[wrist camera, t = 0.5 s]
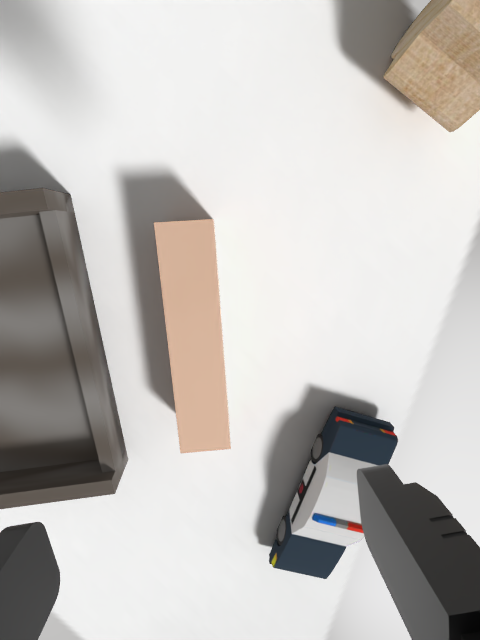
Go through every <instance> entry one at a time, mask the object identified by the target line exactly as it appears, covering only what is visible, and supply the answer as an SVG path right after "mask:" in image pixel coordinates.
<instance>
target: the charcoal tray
mask: <svg viewBox="0 0 480 640" xmlns="http://www.w3.org/2000/svg"><path fill="white" fill-rule="evenodd" d="M127 461H128V457H127V452H126V448H125V443H124V439H123V434H122V429H121V425H120V420H119V416H118V411H117V406H116V402H115V397H114V393H113V388H112V383H111V379H110V374H109V370H108V365H107V360H106V356H105V351H104V347H103V342H102V337H101V333H100V328H99V324H98V319H97V314H96V310H95V305H94V301H93V296H92V291H91V287H90V282H89V278H88V273H87V268H86V264H85V259H84V254H83V250H82V245H81V241H80V236H79V231H78V227H77V222H76V218H75V213H74V208H73V204H72V199H71V195H70V194H66V193H62V192H58V191H54V190H49V189H45V188H37V189H28V190H19V191H9V192H0V509H5V508H12V507H20V506H27V505H35V504H42V503H50V502H57V501H65V500H72V499H80V498H87V497H95V496H102V495H109V494H115V492H116V489H117V487H118V484H119V482H120V479H121V477H122V474H123V471H124V469H125V466H126V464H127Z"/></svg>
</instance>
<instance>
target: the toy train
mask: <svg viewBox="0 0 480 640" xmlns="http://www.w3.org/2000/svg"><path fill="white" fill-rule="evenodd" d="M391 58H392V59H394V60H393V61H392V63H391V65H390V66H389V68H388V69H387V71H386V73H385V74H384V77H383V78H384V79H385V80H387V81H388V82H389V83H390V84H392V85H393V86H394V87H395V88H396V89H398V90H399V91H400V92H401V93H403V94H404V95H405V96H406V97H407V98H409V99H410V100H411V101H412V102H413V103H415V104H416V105H417V106H418V107H420V108H421V109H422V110H423V111H424V112H426V113H427V114H428V115H429V116H431V117H432V118H433V119H434V120H435V121H437V122H438V123H439V124H440V125H441V126H443V127H444V128H445V129H446V130H448V131H449V132H452V131H454V130H456V129H458V128H459V127H461V126H462V125H463V124H464V123H465V122H466V121H467V120H468V119H470V118H471V117H472V116H473V115H474V114H475V113H476V112H478V111H479V110H480V0H431V1H430V2H429V3H428V5H427V6H426V7H425V8H424V9H423V10H422V11H421V13H420V14H419V15H418V17H417V18H416V19H415V20H414V22H413V23H412V24H411V25H410V27H409V28H408V30H407V31H406V33H405V34H404V35H403V37H402V38H401V40H400V41H399V43H398V44H397V46H396V47H395V49H394V51H393V53H392V54H391Z"/></svg>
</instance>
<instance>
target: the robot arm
mask: <svg viewBox="0 0 480 640" xmlns="http://www.w3.org/2000/svg"><path fill="white" fill-rule="evenodd" d="M357 485H358V496H359V506H360V517H361V524H362V529H363V533H364V536H365V539H366V542H367V545H368V547H369V549H370V552H371V554H372V556H373V558H374V560H375V562H376V564H377V566H378V569H379V571H380V573H381V575H382V577H383V579H384V581H385V583H386V586H387V588H388V590H389V592H390V594H391V596H392V598H393V600H394V602H395V605H396V607H397V609H398V611H399V613H400V615H401V617H402V619H403V621H404V624H405V626H406V628H407V630H408V632H409V634H410V636H411V638H412V640H480V547H479V546H478V545H477V544H476V542H475V541H474V540H473V539H472V538H471V536H470V535H467V533H466V531H465V529H464V528H463V527H462V526H461V524H460V523H459V522H458V521H457V520H456V518H453V516H452V514H451V513H450V511H449V510H448V509H447V508H446V507H445V505H444V504H443V503H442V502H441V500H440V499H439V498H438V497H437V496H436V495H434V494H433V493H431V492H430V491H428V490H427V489H425V488H424V487H422V486H420V485H419V484H417V483H410V484H403V483H402V482H401V480H400V479H399V478H398V476H397V475H396V474H395V472H394V471H393V470H392V468H391V467H390V466H389V465H387V464H384V465H378V466H373V467H367V468H361V469H358V470H357ZM59 586H60V572H59V568H58V565H57V562H56V559H55V556H54V553H53V550H52V547H51V544H50V541H49V538H48V535H47V532H46V529H45V527H44V525H43V524H42V523H40V522H34V523H28V524H22V525H16V526H10V527H7V528H5V529H4V530H2V531H1V533H0V640H38V638H39V636H40V634H41V632H42V629H43V627H44V625H45V623H46V621H47V619H48V616H49V614H50V612H51V610H52V608H53V606H54V604H55V601H56V599H57V596H58V592H59Z"/></svg>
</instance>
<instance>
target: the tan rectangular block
mask: <svg viewBox="0 0 480 640" xmlns="http://www.w3.org/2000/svg"><path fill="white" fill-rule="evenodd" d="M154 229H155V238H156V246H157V255H158V263H159V272H160V280H161V289H162V298H163V306H164V315H165V323H166V332H167V341H168V349H169V358H170V366H171V375H172V384H173V392H174V401H175V409H176V418H177V426H178V435H179V444H180V452H181V453H189V452H200V451H212V450H223V449H231V447H230V429H229V414H228V400H227V387H226V374H225V360H224V347H223V334H222V320H221V307H220V294H219V280H218V267H217V254H216V240H215V227H214V219H204V220H188V221H171V222H154Z"/></svg>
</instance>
